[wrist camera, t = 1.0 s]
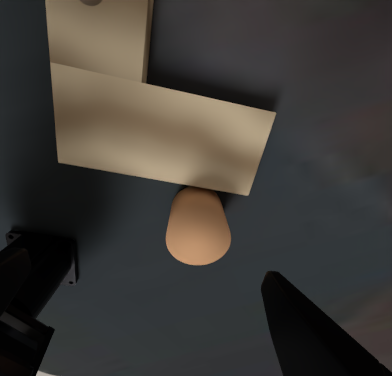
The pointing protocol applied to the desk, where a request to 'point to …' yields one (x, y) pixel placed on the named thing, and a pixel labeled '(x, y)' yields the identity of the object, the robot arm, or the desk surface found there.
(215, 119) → the pale wood u-shaped block
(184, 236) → the tan rounded cone
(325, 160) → the desk surface
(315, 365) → the robot arm
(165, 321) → the desk surface
